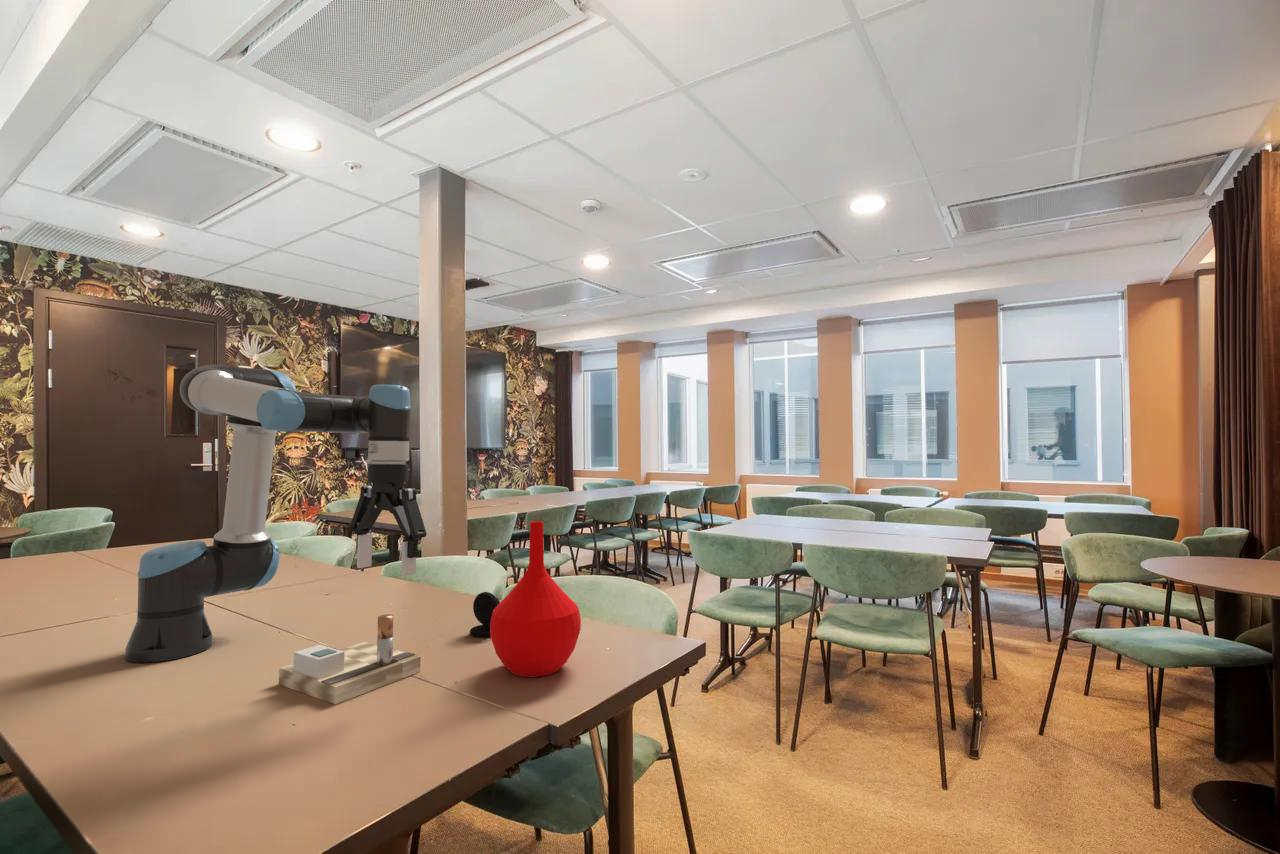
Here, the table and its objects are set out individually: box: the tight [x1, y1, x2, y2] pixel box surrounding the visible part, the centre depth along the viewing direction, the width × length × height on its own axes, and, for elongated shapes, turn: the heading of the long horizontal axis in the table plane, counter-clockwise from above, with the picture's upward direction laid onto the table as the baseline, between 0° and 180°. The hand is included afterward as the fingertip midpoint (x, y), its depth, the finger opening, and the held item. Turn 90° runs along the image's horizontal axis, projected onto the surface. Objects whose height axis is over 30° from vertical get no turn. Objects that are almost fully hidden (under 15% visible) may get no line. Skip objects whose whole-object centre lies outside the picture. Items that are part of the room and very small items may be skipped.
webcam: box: [469, 591, 501, 639], centre depth 144 cm, size 8×8×10 cm
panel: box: [278, 641, 422, 705], centre depth 115 cm, size 18×18×3 cm
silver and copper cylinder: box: [376, 613, 394, 667], centre depth 115 cm, size 3×3×12 cm
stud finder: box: [293, 644, 344, 679], centre depth 111 cm, size 8×5×4 cm, turn 59°
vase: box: [489, 520, 582, 678], centre depth 121 cm, size 18×18×30 cm
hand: (385, 570), depth 116 cm, fingers open, 13 cm apart
